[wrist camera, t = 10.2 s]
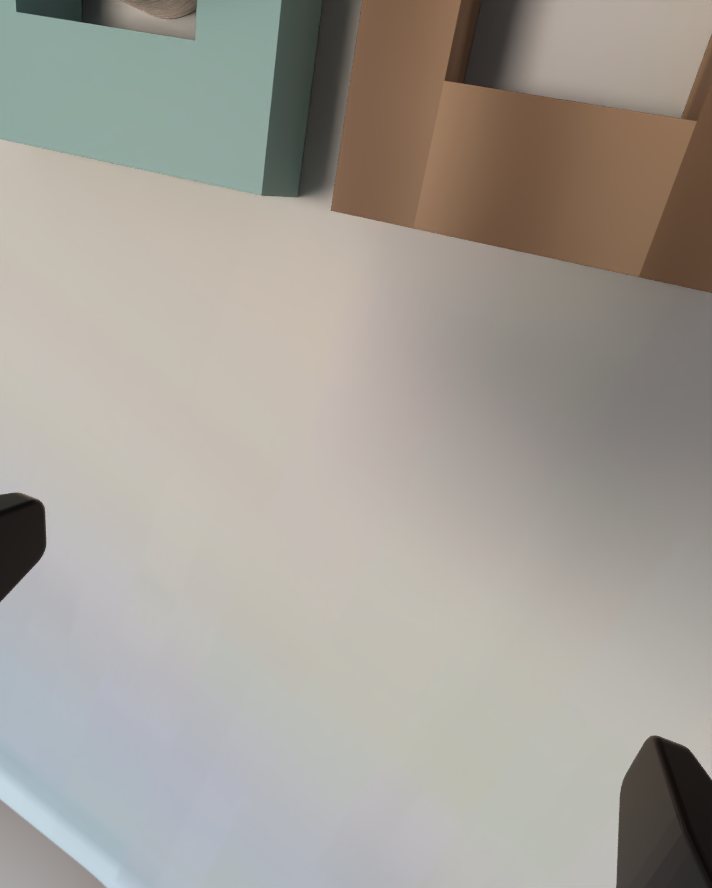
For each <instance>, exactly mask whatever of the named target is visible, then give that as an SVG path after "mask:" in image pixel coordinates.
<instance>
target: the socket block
mask: <svg viewBox="0 0 712 888" xmlns="http://www.w3.org/2000/svg"><path fill="white" fill-rule="evenodd" d="M480 5H481V0H362V7H361V13H360V20H359V27H358V33H357V40H356V47H355V53H354V60H353V67H352V73H351V80H350V86H349V93H348V100H347V106H346V113H345V120H344V126H343V133H342V140H341V146H340V153H339V159H338V166H337V173H336V179H335V186H334V193H333V199H332V206H331V211H335V212H340V213H345V214H349V215H354V216H359V217H363V218H368V219H373V220H377V221H382V222H386V223H391V224H396V225H400V226H405V227H410V228H414V229H419V230H423V231H428V232H433V233H437V234H442V235H447V236H451V237H456V238H460V239H465V240H470V241H474V242H479V243H484V244H488V245H493V246H498V247H502V248H507V249H511V250H516V251H521V252H525V253H530V254H535V255H539V256H544V257H548V258H553V259H558V260H562V261H567V262H572V263H576V264H581V265H586V266H590V267H595V268H599V269H604V270H609V271H613V272H618V273H623V274H627V275H632V276H636V277H641V278H646V279H650V280H655V281H660V282H664V283H669V284H674V285H678V286H683V287H687V288H692V289H697V290H701V291H706V292H711V293H712V35H711V38H710V40H709V43H708V46H707V49H706V51H705V54H704V57H703V60H702V62H701V65H700V68H699V71H698V73H697V76H696V79H695V82H694V84H693V87H692V90H691V93H690V95H689V98H688V101H687V104H686V106H685V109H684V112H683V115H682V117H681V119H680V118H674V117H667V116H661V115H655V114H649V113H643V112H636V111H630V110H624V109H618V108H611V107H605V106H599V105H593V104H587V103H580V102H574V101H568V100H562V99H555V98H549V97H543V96H537V95H531V94H524V93H518V92H512V91H506V90H499V89H493V88H487V87H481V86H475V85H468V84H463V82H464V77H465V73H466V68H467V64H468V59H469V55H470V50H471V46H472V41H473V37H474V32H475V27H476V23H477V18H478V14H479V9H480Z"/></svg>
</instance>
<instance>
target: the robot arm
mask: <svg viewBox="0 0 712 888" xmlns="http://www.w3.org/2000/svg"><path fill="white" fill-rule="evenodd" d="M45 548H46V522H45V507H44V505H43V503H42V502H41V501H39V500H38V499H35V498H33V497H30V496H27V495H25V494H22V493H9V494H3V495H0V602H1V601H2V600H3V599H4V598H5V597H6V595H7V594H8V593H9V592H10V591H11V590H12V589H13V588H14V587H15V586H16V585H17V584H18V583H19V582H20V581H21V579H22V578H23V577H24V576H25V575H26V574H27V573H28V572H29V571H30V570H31V569H32V568H33V567H34V566H35V564H36V563H37V562H38V561H39V560H40V559H41V557H42V556H43V554H44V551H45ZM616 888H712V780H711V778H710V777H709V775H708V774H707V773H706V771H705V770H704V769H703V767H702V766H701V764H700V763H699V762H698V760H697V759H696V758H695V756H694V755H693V754H692V752H691V751H690V750H689V749H688V748H686V747H685V746H683V745H681V744H678V743H675V742H673V741H670V740H668V739H665V738H662V737H660V736H650V737H649V738H648V739H647V740H646V741H645V742H644V744H643V746H642V747H641V749H640V751H639V753H638V754H637V756H636V758H635V759H634V761H633V763H632V765H631V766H630V768H629V770H628V772H627V773H626V775H625V777H624V780H623V782H622V786H621V792H620V807H619V832H618V858H617V884H616Z"/></svg>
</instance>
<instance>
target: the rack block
mask: <svg viewBox="0 0 712 888" xmlns="http://www.w3.org/2000/svg"><path fill="white" fill-rule="evenodd" d="M322 1H323V0H197V11H196V30H195V41H194V40H188V39H182V38H176V37H169V36H163V35H157V34H151V33H145V32H138V31H132V30H126V29H120V28H113V27H107V26H101V25H95V24H89V23H82V9H81V0H0V139H2V140H7V141H11V142H16V143H21V144H25V145H30V146H34V147H39V148H44V149H48V150H53V151H58V152H62V153H67V154H72V155H76V156H81V157H85V158H90V159H95V160H99V161H104V162H109V163H113V164H118V165H122V166H127V167H132V168H136V169H141V170H146V171H150V172H155V173H159V174H164V175H169V176H173V177H178V178H183V179H187V180H192V181H197V182H201V183H206V184H210V185H215V186H220V187H224V188H229V189H234V190H238V191H243V192H247V193H252V194H257V195H261V196H283V197H298V190H299V182H300V174H301V166H302V158H303V150H304V143H305V135H306V127H307V119H308V111H309V103H310V95H311V88H312V80H313V72H314V64H315V56H316V48H317V41H318V33H319V25H320V17H321V9H322Z"/></svg>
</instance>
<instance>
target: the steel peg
mask: <svg viewBox="0 0 712 888" xmlns="http://www.w3.org/2000/svg"><path fill="white" fill-rule="evenodd" d="M121 1H123V2H125V3H127V4H129V5H131V6H134V7H136V8H138V9H140V10H142V11H144V12H146V13H148V14H150V15H153V16H155V17H159V18H165V19H173V18H179V17H183V16H186V15H188V14H190V13H192V12H194V11H195V10H196V9H197V0H121Z"/></svg>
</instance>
